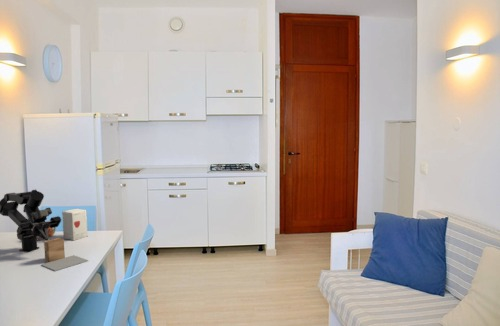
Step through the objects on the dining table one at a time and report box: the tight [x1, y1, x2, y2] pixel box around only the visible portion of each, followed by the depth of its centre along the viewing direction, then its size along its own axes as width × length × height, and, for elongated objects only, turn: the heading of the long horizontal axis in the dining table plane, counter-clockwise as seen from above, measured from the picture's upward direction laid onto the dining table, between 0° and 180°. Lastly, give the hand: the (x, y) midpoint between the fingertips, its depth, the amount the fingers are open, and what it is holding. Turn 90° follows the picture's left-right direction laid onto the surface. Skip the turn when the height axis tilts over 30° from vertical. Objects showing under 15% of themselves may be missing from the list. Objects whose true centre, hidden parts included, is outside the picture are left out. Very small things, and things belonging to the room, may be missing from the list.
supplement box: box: [61, 208, 88, 241], centre depth 216 cm, size 9×9×15 cm
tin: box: [36, 227, 56, 241], centre depth 216 cm, size 15×3×8 cm, turn 168°
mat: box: [40, 254, 89, 272], centre depth 176 cm, size 12×15×1 cm
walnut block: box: [43, 237, 66, 263], centre depth 181 cm, size 4×7×9 cm, turn 143°
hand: (46, 239), depth 184 cm, fingers closed
